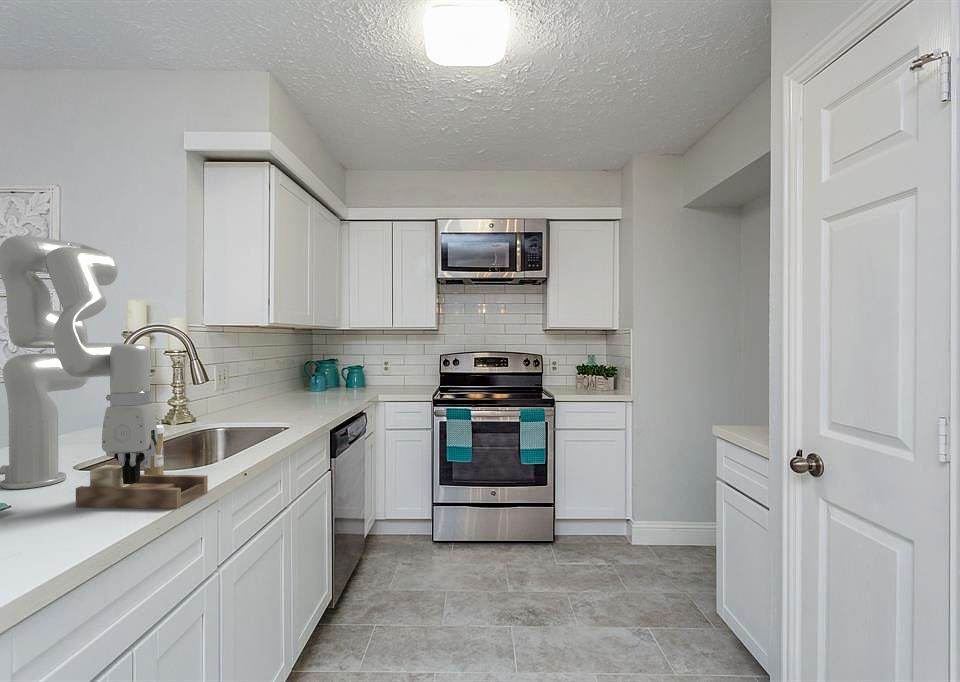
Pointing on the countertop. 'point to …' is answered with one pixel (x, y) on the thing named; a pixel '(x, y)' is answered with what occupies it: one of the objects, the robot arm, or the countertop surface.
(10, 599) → the countertop surface
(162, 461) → the sprinkles bottle
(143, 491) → the brown wooden tray
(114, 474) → the beech block
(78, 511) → the countertop surface
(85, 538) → the countertop surface
